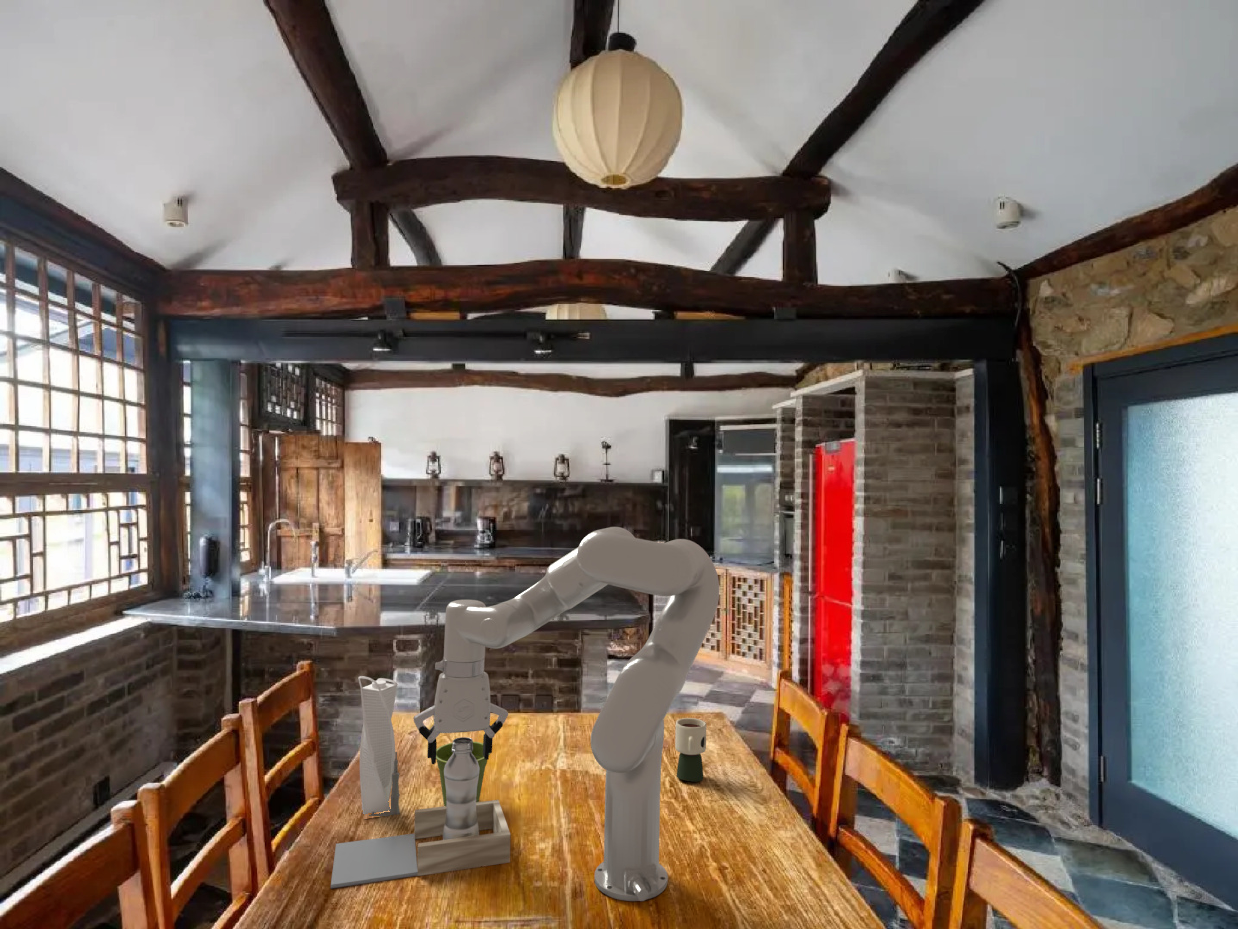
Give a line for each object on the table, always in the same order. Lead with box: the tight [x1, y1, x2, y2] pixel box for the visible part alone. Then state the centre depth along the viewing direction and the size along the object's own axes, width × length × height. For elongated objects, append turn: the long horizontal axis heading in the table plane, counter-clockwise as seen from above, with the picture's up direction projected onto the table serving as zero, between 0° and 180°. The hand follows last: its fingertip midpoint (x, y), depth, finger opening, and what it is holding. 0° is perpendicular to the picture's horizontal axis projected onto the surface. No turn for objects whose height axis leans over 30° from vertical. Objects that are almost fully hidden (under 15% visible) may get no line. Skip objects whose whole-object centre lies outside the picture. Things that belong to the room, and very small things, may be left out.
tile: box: [330, 833, 418, 889], centre depth 129 cm, size 14×14×1 cm
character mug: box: [674, 717, 707, 783], centre depth 166 cm, size 11×7×13 cm, turn 175°
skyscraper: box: [357, 675, 401, 817], centre depth 149 cm, size 8×8×28 cm
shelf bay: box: [413, 799, 511, 877], centre depth 133 cm, size 14×16×5 cm
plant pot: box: [436, 741, 492, 806], centre depth 151 cm, size 12×12×11 cm
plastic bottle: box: [442, 736, 480, 840], centre depth 133 cm, size 6×7×20 cm
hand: (459, 759), depth 134 cm, fingers open, 9 cm apart
